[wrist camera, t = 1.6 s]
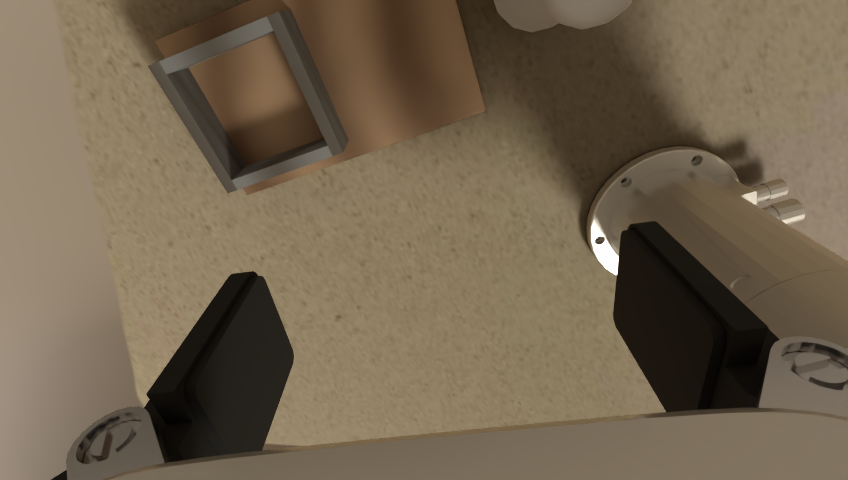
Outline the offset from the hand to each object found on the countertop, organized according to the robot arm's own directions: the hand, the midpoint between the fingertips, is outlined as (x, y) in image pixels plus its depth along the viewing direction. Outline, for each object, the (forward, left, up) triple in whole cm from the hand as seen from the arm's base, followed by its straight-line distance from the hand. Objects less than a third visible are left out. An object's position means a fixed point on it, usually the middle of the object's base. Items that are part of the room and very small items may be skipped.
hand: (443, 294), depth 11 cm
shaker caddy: (+6, -4, -24) cm, 25 cm away
